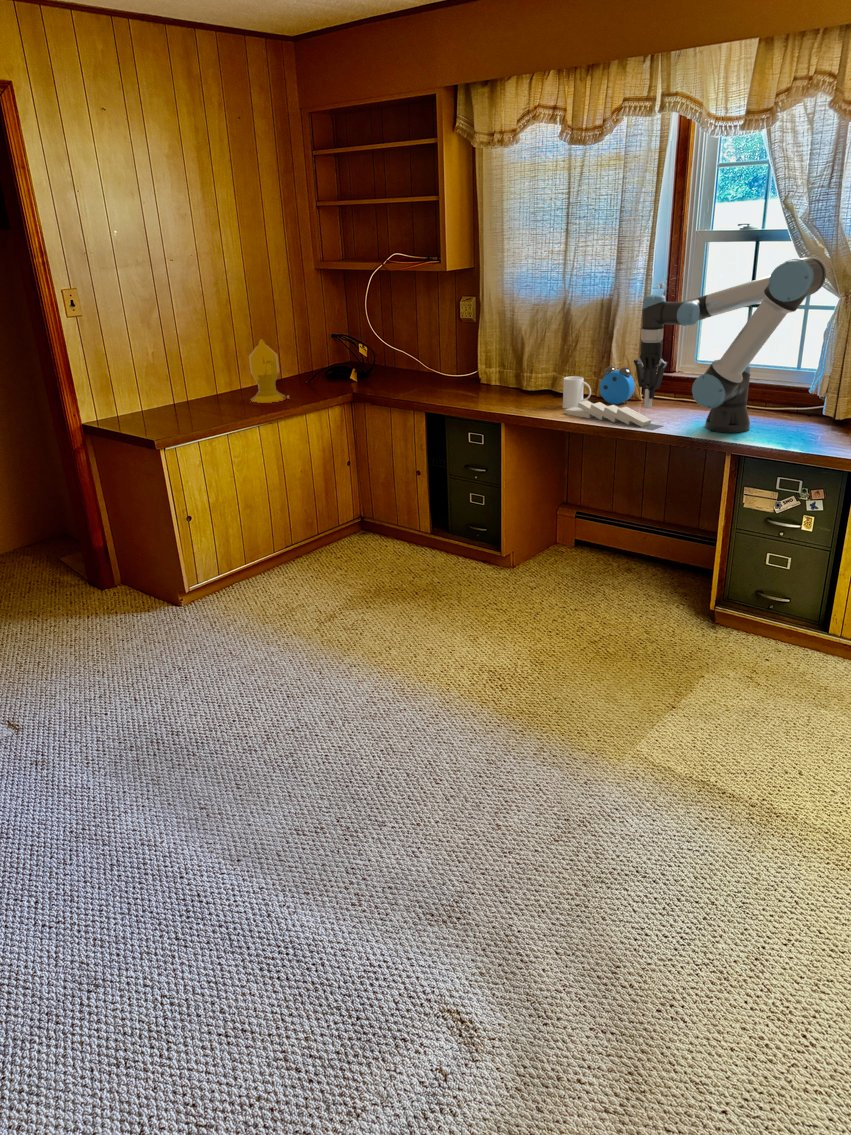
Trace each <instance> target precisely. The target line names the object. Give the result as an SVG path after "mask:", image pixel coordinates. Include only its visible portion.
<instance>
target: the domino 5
mask: <svg viewBox="0 0 851 1135" xmlns="http://www.w3.org/2000/svg"><path fill="white" fill-rule="evenodd" d="M617 414H619V415H620V416H622V417H624V418H626V419H628V420H630V421H631V422H633V423H635V424H637V425H639V426H641V427H643V426H646V425H650V424H652V423H651V422H652V419H650V418H649V417H647V416H645V415H643V414H641V413H639V412H638V411H635V410H634V409H632V408H630V407H628V406H623V407H619V409H618V410H617Z"/></svg>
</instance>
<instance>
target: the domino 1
mask: <svg viewBox="0 0 851 1135" xmlns="http://www.w3.org/2000/svg"><path fill="white" fill-rule="evenodd" d="M564 414H565V415H569V416H575V417H580V418H581V417H582V418H583V417H586V418H592V417H595V416H593V415H591V414H589V413H588V412H586V411H584V410H582V409H581V408H576V407H573V408H569V409H567V408H565V413H564Z"/></svg>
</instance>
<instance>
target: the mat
mask: <svg viewBox="0 0 851 1135" xmlns="http://www.w3.org/2000/svg"><path fill="white" fill-rule="evenodd" d="M582 419H585V420H592V421H597V422H601V423H602V422H604V423H608V424H613V425H615V424H616V425H620V426H626V427H631V428H637V429H641V430H648V431H655V430H657V429H661V428H664V427H665V425H661V424H656V423H650V425H646V426H643V427H641V426H639V425H637V424H635V423H633V424H629V425H627V424H626V423H624V422H622V421H617V422H612V421H611V420H609V419H607V418H606V419H603V420H600V419H598V418H596V417H592V418H586V417H582Z"/></svg>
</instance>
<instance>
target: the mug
mask: <svg viewBox="0 0 851 1135" xmlns="http://www.w3.org/2000/svg"><path fill="white" fill-rule="evenodd" d="M584 380H585V379H584V377H583V376H580V375H579V376H578V375H577V376H576V375H572V376H566V377H563V381H562V382H563V386H562V387H563V389H562V390H563V391H562V392H563V394H562V409H569V408H573V407H576V408H579V407H578V403H579V402H582V401H586V400H588V401H589V399H590V397H591V394H592V389H591V386H590V384H588V383H587V382H586V381H584ZM584 386H586V387H587V388H588V390H589V393H588V395H587V397H586V398H584Z"/></svg>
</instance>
